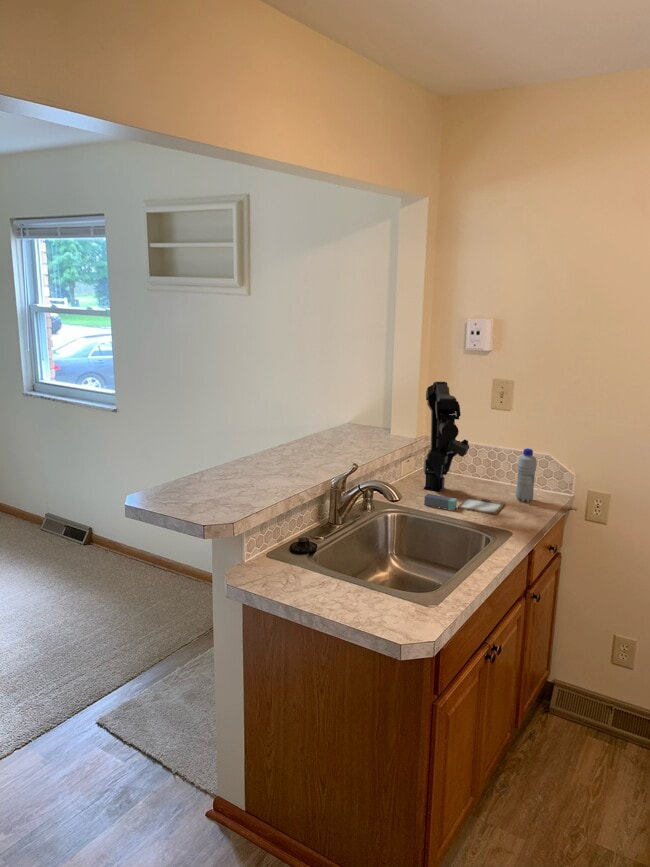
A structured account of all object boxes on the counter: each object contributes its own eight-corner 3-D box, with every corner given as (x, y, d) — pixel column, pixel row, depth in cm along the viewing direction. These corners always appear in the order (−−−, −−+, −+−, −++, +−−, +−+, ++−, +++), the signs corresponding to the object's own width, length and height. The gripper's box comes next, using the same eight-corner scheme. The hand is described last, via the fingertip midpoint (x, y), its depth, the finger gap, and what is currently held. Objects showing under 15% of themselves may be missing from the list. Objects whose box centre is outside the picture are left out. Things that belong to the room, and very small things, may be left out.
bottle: (512, 501, 248) (517, 449, 244) (516, 496, 254) (521, 445, 249) (531, 504, 245) (536, 452, 241) (534, 499, 251) (539, 447, 246)
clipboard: (457, 508, 241) (457, 505, 241) (467, 498, 251) (467, 495, 251) (496, 515, 234) (496, 512, 234) (504, 505, 245) (504, 502, 244)
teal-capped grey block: (424, 505, 243) (424, 496, 243) (427, 502, 246) (428, 493, 246) (453, 510, 238) (453, 501, 237) (456, 507, 241) (456, 498, 240)
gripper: (459, 441, 224) (457, 485, 228) (475, 430, 240) (472, 471, 244) (428, 437, 229) (425, 480, 233) (445, 426, 245) (442, 467, 249)
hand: (442, 474), depth 239 cm, fingers open, 9 cm apart
